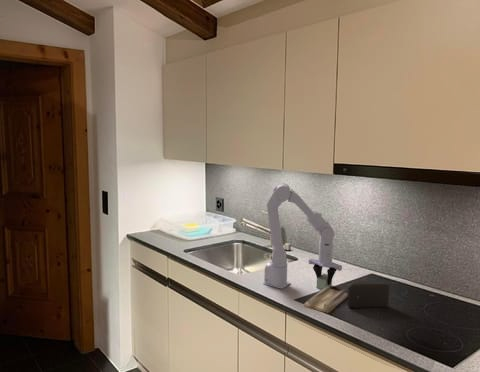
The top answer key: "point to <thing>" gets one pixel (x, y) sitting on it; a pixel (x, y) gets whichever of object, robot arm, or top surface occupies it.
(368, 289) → the leaning round-cornered charcoal block
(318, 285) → the module
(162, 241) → the top surface
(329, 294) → the rail board
